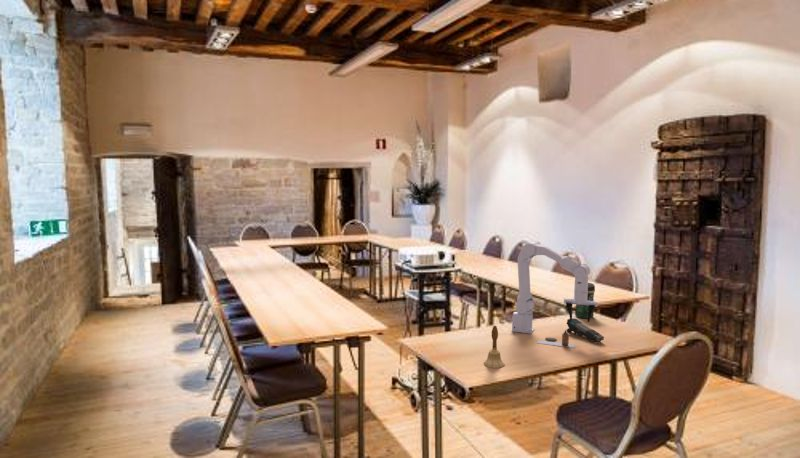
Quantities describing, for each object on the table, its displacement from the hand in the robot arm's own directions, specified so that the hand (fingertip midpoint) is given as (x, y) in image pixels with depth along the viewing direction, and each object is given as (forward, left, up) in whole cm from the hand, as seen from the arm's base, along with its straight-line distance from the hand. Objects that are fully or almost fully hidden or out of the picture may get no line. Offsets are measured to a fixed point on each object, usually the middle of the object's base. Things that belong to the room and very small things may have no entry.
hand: (579, 320), depth 241 cm
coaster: (-12, -3, -10) cm, 16 cm away
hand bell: (-28, -46, -10) cm, 55 cm away
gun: (+1, +7, -10) cm, 13 cm away
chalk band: (-9, -9, -10) cm, 16 cm away
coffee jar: (-2, +46, -10) cm, 47 cm away
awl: (-5, -9, -10) cm, 14 cm away
